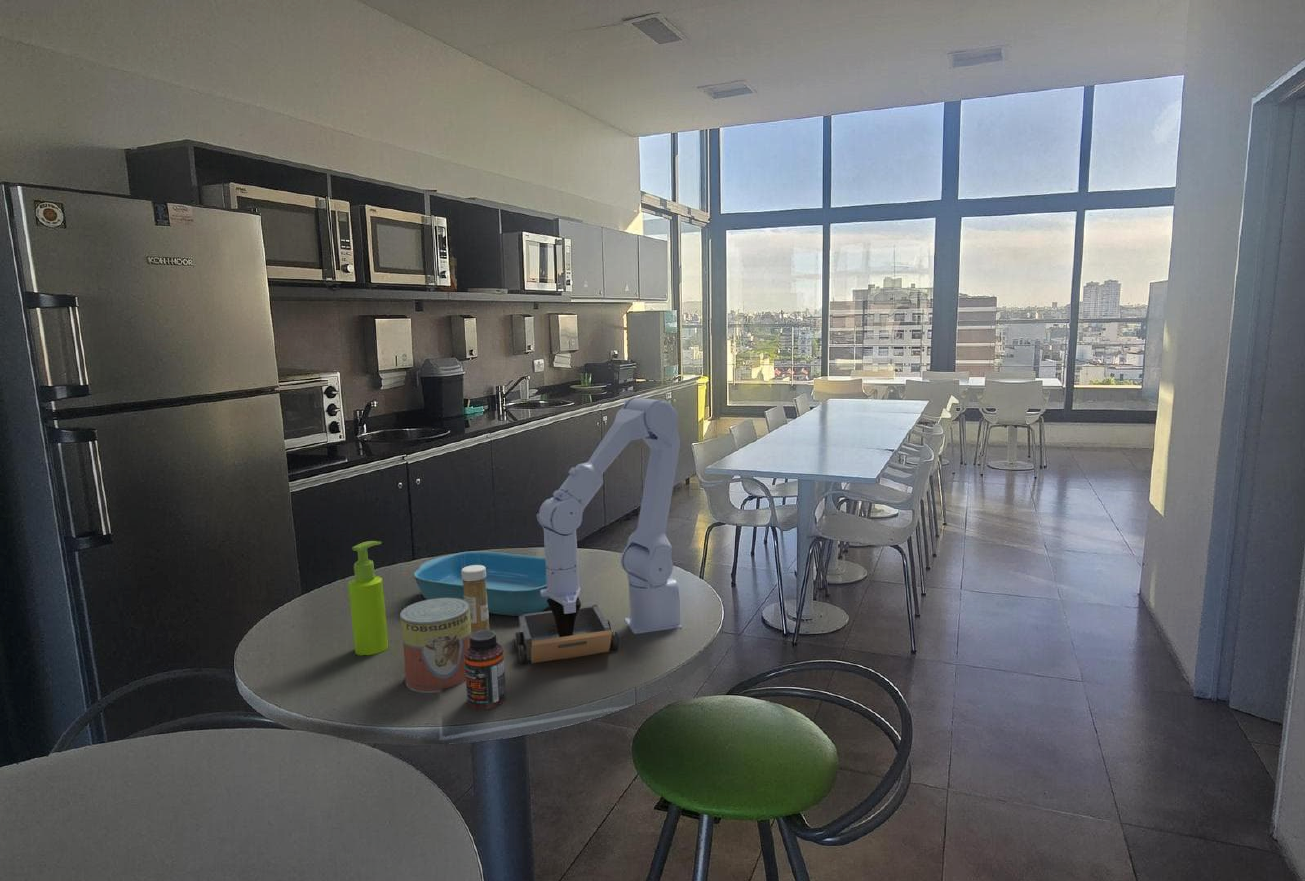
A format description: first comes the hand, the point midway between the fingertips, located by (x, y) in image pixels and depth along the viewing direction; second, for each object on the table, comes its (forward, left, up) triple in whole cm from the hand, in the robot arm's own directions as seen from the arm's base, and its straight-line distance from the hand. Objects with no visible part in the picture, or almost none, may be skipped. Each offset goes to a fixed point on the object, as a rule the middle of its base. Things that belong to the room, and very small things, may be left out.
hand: (565, 637), depth 137 cm
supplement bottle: (+15, +15, -2) cm, 22 cm away
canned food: (+22, +3, -2) cm, 22 cm away
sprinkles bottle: (+15, -13, -2) cm, 20 cm away
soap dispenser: (+34, -14, -2) cm, 37 cm away
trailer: (0, -3, -2) cm, 3 cm away
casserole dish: (+10, -33, -3) cm, 34 cm away
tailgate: (0, +4, -2) cm, 5 cm away
